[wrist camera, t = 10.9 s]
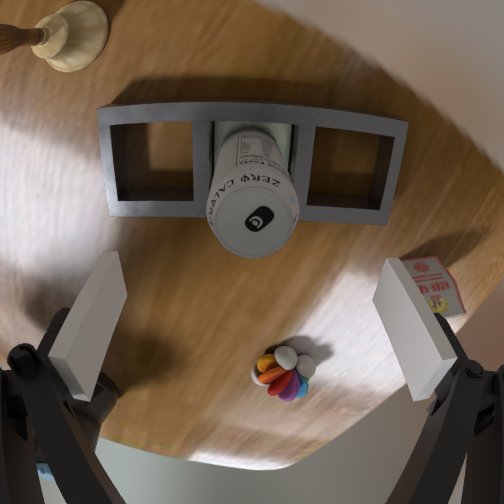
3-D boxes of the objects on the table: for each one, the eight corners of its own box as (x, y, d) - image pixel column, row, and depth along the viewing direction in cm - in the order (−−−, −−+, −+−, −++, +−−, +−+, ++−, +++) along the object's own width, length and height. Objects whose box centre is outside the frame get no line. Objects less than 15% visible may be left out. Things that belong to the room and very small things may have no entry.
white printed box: (431, 276, 42) (461, 324, 33) (390, 282, 42) (416, 334, 34) (436, 255, 40) (470, 302, 31) (394, 260, 40) (424, 312, 32)
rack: (120, 202, 35) (109, 216, 32) (110, 103, 28) (96, 108, 26) (375, 211, 36) (386, 225, 33) (394, 115, 30) (408, 122, 27)
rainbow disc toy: (276, 335, 47) (280, 375, 41) (321, 357, 51) (328, 393, 45) (243, 363, 51) (243, 400, 45) (287, 381, 54) (291, 416, 48)
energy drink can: (207, 155, 32) (183, 225, 19) (249, 113, 30) (254, 156, 17) (249, 192, 34) (253, 281, 22) (291, 155, 32) (323, 225, 20)
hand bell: (96, 77, 27) (-4, 104, 13) (36, 68, 25) (-69, 95, 12) (119, 3, 22) (26, -22, 9) (56, -1, 21) (-48, -10, 7)
